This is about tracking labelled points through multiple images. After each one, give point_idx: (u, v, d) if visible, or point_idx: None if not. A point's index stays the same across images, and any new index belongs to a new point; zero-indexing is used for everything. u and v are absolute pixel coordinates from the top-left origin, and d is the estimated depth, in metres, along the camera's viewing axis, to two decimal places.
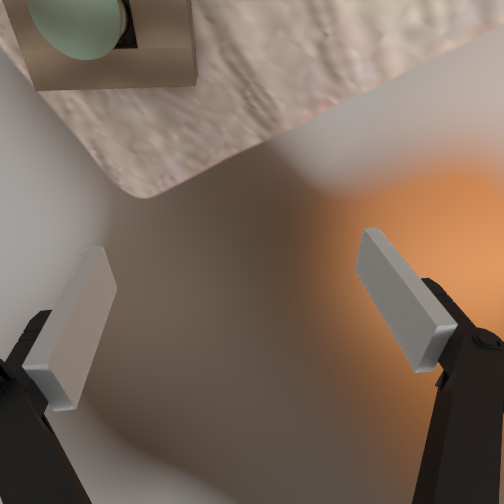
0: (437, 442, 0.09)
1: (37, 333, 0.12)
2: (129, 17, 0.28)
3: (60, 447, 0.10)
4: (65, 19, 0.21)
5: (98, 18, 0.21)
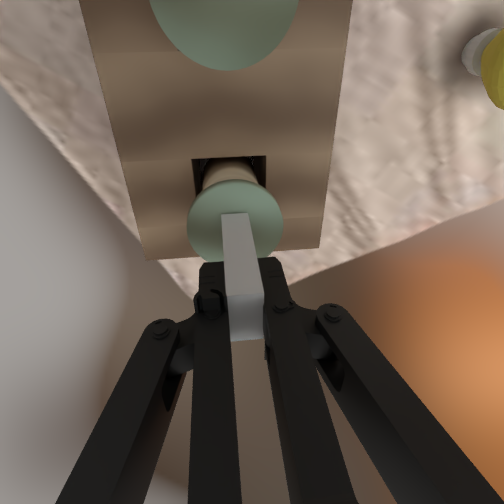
0: (283, 420, 0.09)
1: (212, 278, 0.14)
2: None
3: (233, 382, 0.12)
4: None
5: (260, 234, 0.19)
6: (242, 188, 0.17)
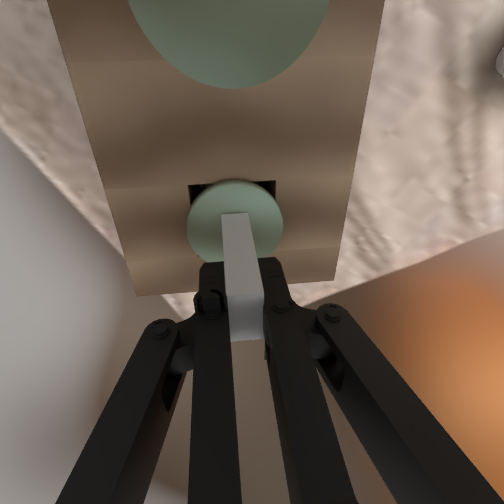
0: (283, 420, 0.09)
1: (212, 278, 0.14)
2: None
3: (233, 382, 0.12)
4: None
5: (259, 235, 0.19)
6: (242, 189, 0.17)
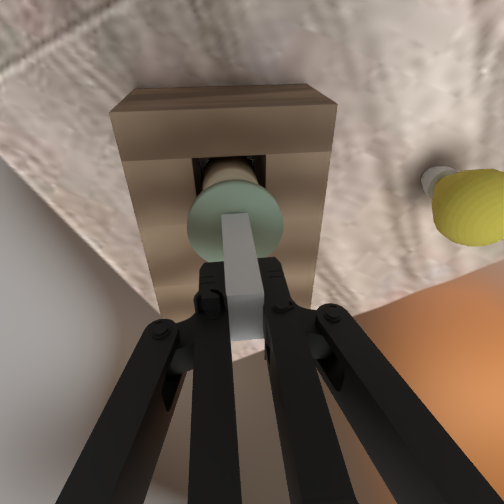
0: (283, 420, 0.09)
1: (212, 278, 0.14)
2: None
3: (233, 382, 0.12)
4: None
5: None
6: None
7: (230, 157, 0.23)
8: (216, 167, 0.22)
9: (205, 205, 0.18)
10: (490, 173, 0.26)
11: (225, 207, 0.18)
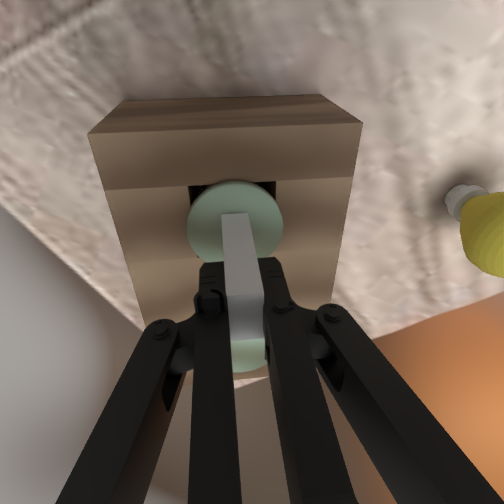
0: (283, 420, 0.09)
1: (212, 278, 0.14)
2: None
3: (233, 382, 0.12)
4: (232, 355, 0.25)
5: (259, 352, 0.25)
6: None
7: None
8: None
9: (205, 206, 0.18)
10: None
11: (225, 208, 0.18)
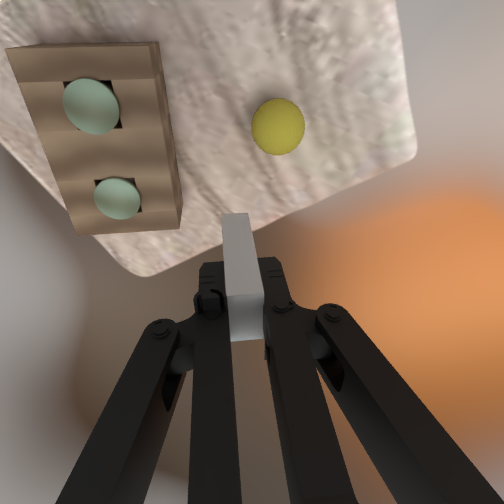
0: (283, 420, 0.09)
1: (212, 278, 0.14)
2: None
3: (233, 382, 0.12)
4: (112, 204, 0.41)
5: (129, 202, 0.42)
6: (115, 181, 0.40)
7: None
8: None
9: (70, 91, 0.34)
10: (276, 99, 0.38)
11: (81, 92, 0.34)
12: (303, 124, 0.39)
